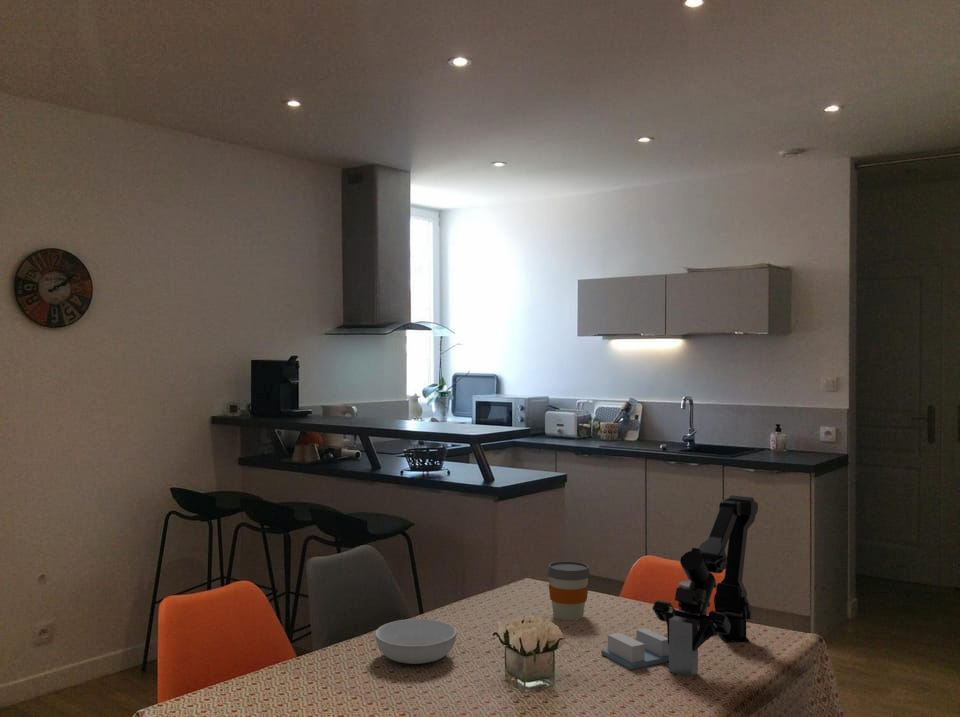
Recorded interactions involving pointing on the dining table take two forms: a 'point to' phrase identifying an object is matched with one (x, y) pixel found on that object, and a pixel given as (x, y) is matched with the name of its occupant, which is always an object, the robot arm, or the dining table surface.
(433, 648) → the serving bowl
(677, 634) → the steel bar
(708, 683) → the dining table surface
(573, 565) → the reusable coffee cup
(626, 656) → the vise
